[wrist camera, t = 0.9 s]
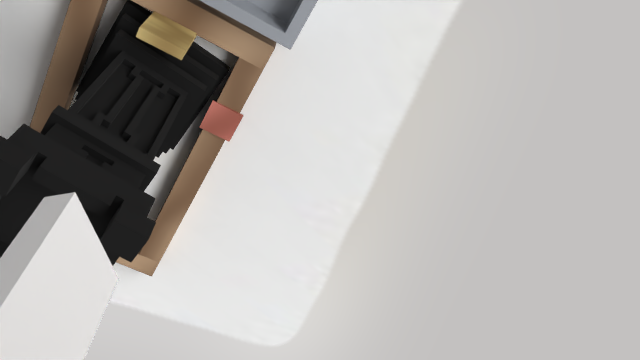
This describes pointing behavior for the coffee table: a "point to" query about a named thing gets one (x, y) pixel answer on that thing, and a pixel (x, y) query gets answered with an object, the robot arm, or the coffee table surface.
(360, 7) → the coffee table surface
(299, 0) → the tray
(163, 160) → the coffee table surface
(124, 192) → the chess piece
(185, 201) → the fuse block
